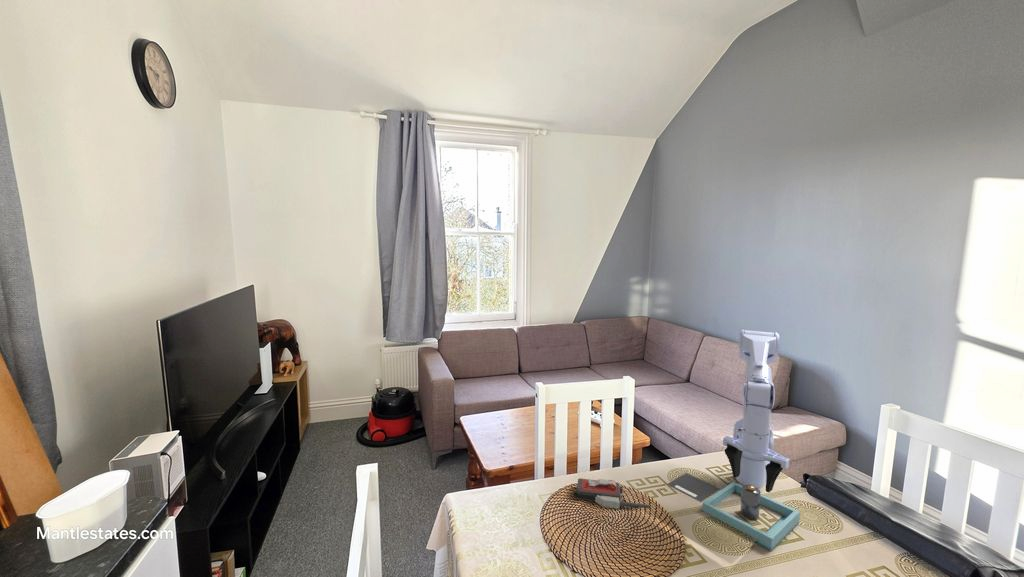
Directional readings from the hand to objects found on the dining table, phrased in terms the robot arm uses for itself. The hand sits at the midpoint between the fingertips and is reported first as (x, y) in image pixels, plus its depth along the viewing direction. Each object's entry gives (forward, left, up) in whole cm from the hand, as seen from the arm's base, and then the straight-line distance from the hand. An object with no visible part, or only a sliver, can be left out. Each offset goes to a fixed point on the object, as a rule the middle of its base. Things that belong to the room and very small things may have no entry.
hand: (752, 483), depth 102 cm
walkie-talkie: (+22, -26, -10) cm, 35 cm away
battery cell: (0, 0, -9) cm, 9 cm away
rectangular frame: (0, 0, -9) cm, 9 cm away
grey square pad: (0, -15, -9) cm, 18 cm away
